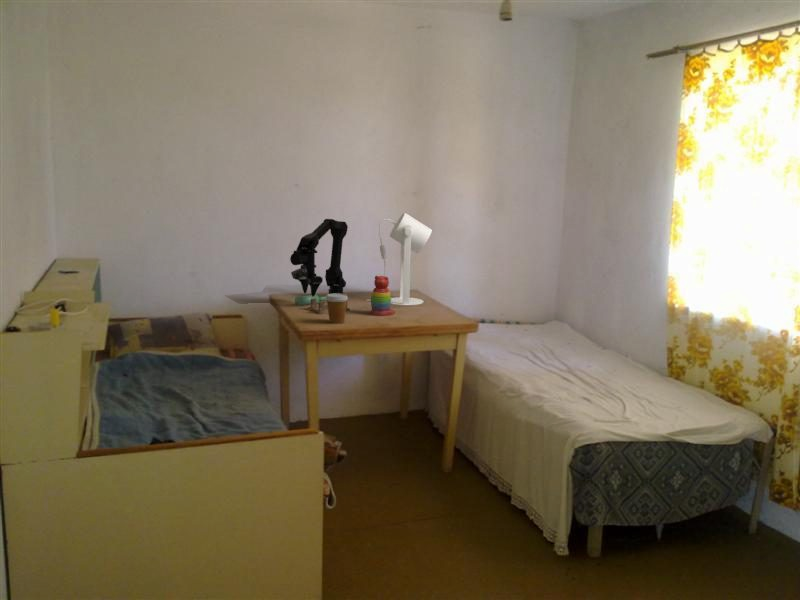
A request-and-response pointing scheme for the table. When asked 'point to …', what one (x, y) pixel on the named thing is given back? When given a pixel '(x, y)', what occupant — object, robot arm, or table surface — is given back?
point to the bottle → (308, 299)
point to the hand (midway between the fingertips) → (308, 294)
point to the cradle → (320, 307)
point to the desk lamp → (406, 252)
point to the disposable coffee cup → (336, 307)
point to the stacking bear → (381, 297)
